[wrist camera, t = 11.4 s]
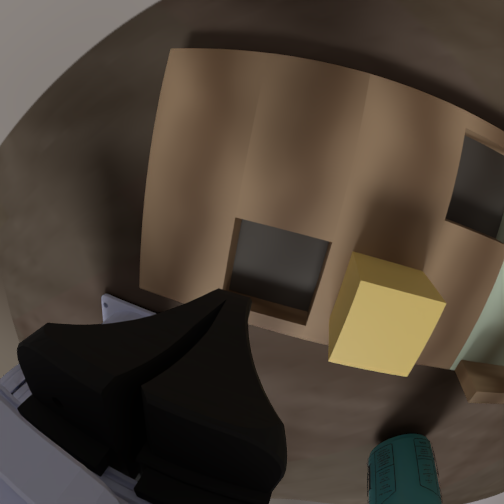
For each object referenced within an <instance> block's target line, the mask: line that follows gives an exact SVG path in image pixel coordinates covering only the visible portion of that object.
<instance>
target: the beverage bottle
mask: <svg viewBox="0 0 504 504" xmlns="http://www.w3.org/2000/svg"><path fill="white" fill-rule="evenodd" d="M431 444H432V443H431ZM431 444H430V441H429V440H428V439H427V438H426V437H425V436H423V435H420V434H404V435H399V436H396V437H393V438H390V439H388V440H386V441H384V442H382V443H380V444H379V445H377V446H376V447H375V448H374V449H373V450H372V452H371V453H370V457H369V458H368V459H369V461H368V460H367V461H368V462H369V466H368V464H367V466H368V468H369V470H368V472H369V474H368V473H367V496H368V492H369V499H368V500H369V504H441V502H442V501H443V500H442V501H441V497H442V496H441V497H440V491H439V488H440V487H439V485H438V479H437V474H438V472H437V473H436V468H435V463H434V461H436V459H434V458H433V454H434V451H433V453H432V449H433V447H432V449H431ZM434 456H435V454H434ZM436 466H437V464H436ZM437 471H438V469H437ZM368 475H369V479H368ZM438 476H439V474H438ZM368 480H369V491H368ZM368 500H367V502H368Z"/></svg>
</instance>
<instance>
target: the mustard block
mask: <svg viewBox="0 0 504 504" xmlns="http://www.w3.org/2000/svg"><path fill="white" fill-rule="evenodd" d="M445 306H446V302H445V300H444V299H443V298H442V296H441V295H440V293H439V292H438V291H437V289H436V288H435V287H434V285H433V284H432V283H431V281H430V280H429V279H428V277H427V276H426V275H425V273H424V272H423V271H420V270H417V269H413V268H410V267H406V266H403V265H400V264H396V263H393V262H389V261H386V260H382V259H379V258H375V257H371V256H368V255H364V254H361V253H357V252H352V255H351V258H350V261H349V264H348V267H347V270H346V273H345V276H344V279H343V282H342V285H341V288H340V291H339V294H338V297H337V299H336V302H335V305H334V308H333V311H332V313H331V316H330V319H329V353H328V361H329V362H334V363H338V364H342V365H347V366H352V367H356V368H361V369H366V370H371V371H377V372H382V373H387V374H393V375H399V376H405V377H407V376H408V374H409V373H410V371H411V369H412V368H413V366H414V364H415V363H416V361H417V359H418V358H419V356H420V354H421V352H422V351H423V349H424V347H425V345H426V343H427V341H428V340H429V338H430V336H431V334H432V332H433V330H434V328H435V326H436V324H437V322H438V320H439V318H440V316H441V314H442V312H443V310H444V308H445Z"/></svg>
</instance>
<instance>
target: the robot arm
mask: <svg viewBox="0 0 504 504" xmlns="http://www.w3.org/2000/svg"><path fill="white" fill-rule="evenodd" d="M101 300H102V313H103V323H102V324H93V325H72V324H55V323H47V324H45V325H44V326H42V327H41V328H40V329H38V330H37V331H36V332H34V333H33V334H31V335H30V336H29V337H27V338H26V339H25V340H23V341H22V342H21V343H19V345H18V348H17V355H18V361H19V364H18V365H16V366H15V367H14V368H12V369H11V370H10V371H9V372H7V373H6V374H5V375H4V376H3V377H2V378H1V379H0V504H269V501H270V497H271V493H272V491H273V490H274V489H275V487H276V486H277V485H278V483H279V482H280V481H281V479H282V478H283V476H284V474H285V471H286V465H287V445H286V436H285V429H284V424H283V423H282V421H281V420H280V418H279V417H278V415H277V413H276V412H275V410H274V408H273V407H272V405H271V403H270V401H269V399H268V397H267V395H266V393H265V391H264V389H263V387H262V384H261V382H260V379H259V377H258V374H257V372H256V368H255V365H254V362H253V358H252V353H251V348H250V342H249V334H248V318H249V314H250V310H251V305H252V300H251V298H250V297H246V296H243V295H240V294H236V293H233V292H229V291H226V290H223V289H219V288H218V289H216V290H214V291H212V292H209V293H207V294H205V295H203V296H201V297H199V298H197V299H194V300H192V301H190V302H188V303H185V304H183V305H180V306H178V307H175V308H172V309H170V310H167V311H164V312H161V313H158V314H156V313H154V312H151V311H149V310H146V309H144V308H141V307H138V306H136V305H133V304H131V303H128V302H126V301H124V300H121V299H119V298H116V297H114V296H112V295H109V294H106V293H105V294H104V295H102V297H101ZM106 303H107V304H106Z"/></svg>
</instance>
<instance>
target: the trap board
mask: <svg viewBox="0 0 504 504" xmlns="http://www.w3.org/2000/svg"><path fill="white" fill-rule="evenodd" d="M352 252H357V253H361V254H364V255H368V256H371V257H375V258H379V259H382V260H386V261H389V262H393V263H396V264H400V265H403V266H406V267H410V268H413V269H417V270H420V271H423V272H424V273H425V275H426V276H427V277H428V279H429V280H430V281H431V283H432V284H433V285H434V287H435V288H436V289H437V291H438V292H439V293H440V295H441V296H442V298H443V299H444V300H445V302H446V306H445V308H444V310H443V312H442V314H441V316H440V318H439V320H438V322H437V324H436V326H435V328H434V330H433V332H432V334H431V336H430V338H429V340H428V341H427V343H426V345H425V347H424V349H423V351H422V352H421V354H420V356H419V358H418V359H417V361H416V363H415V364H419V365H425V366H431V367H437V368H443V369H450V370H455V373H456V375H457V377H458V379H459V382H460V384H461V386H462V389H463V391H464V393H465V396H466V398H467V401H468V403H489V404H504V131H502V130H501V129H499V128H497V127H495V126H494V125H492V124H490V123H488V122H486V121H485V120H483V119H481V118H479V117H477V116H475V115H473V114H471V113H469V112H467V111H465V110H463V109H461V108H459V107H457V106H455V105H453V104H450V103H448V102H446V101H444V100H441V99H439V98H437V97H434V96H432V95H430V94H427V93H425V92H422V91H420V90H417V89H414V88H412V87H409V86H406V85H403V84H401V83H398V82H395V81H392V80H389V79H386V78H382V77H379V76H376V75H373V74H369V73H366V72H362V71H359V70H355V69H351V68H347V67H343V66H339V65H335V64H330V63H325V62H321V61H316V60H311V59H305V58H299V57H293V56H287V55H280V54H273V53H264V52H255V51H244V50H230V49H206V48H178V49H171V50H170V54H169V58H168V62H167V66H166V70H165V74H164V79H163V83H162V88H161V93H160V98H159V103H158V108H157V113H156V119H155V125H154V131H153V137H152V143H151V150H150V157H149V164H148V172H147V180H146V189H145V199H144V209H143V221H142V235H141V253H140V281H139V288H141V289H144V290H147V291H150V292H152V293H155V294H158V295H161V296H164V297H166V298H169V299H172V300H175V301H178V302H181V303H184V304H185V303H188V302H190V301H192V300H194V299H197V298H199V297H201V296H203V295H205V294H207V293H209V292H212V291H214V290H216V289H218V288H219V289H223V290H226V291H229V292H233V293H236V294H240V295H243V296H246V297H250V298H251V300H252V305H251V310H250V314H249V318H248V324H250V325H254V326H257V327H261V328H264V329H268V330H271V331H275V332H278V333H282V334H286V335H289V336H293V337H297V338H301V339H305V340H309V341H312V342H316V343H320V344H325V345H329V319H330V316H331V313H332V311H333V308H334V305H335V302H336V299H337V297H338V294H339V291H340V288H341V285H342V282H343V279H344V276H345V273H346V270H347V267H348V264H349V261H350V258H351V255H352Z"/></svg>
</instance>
